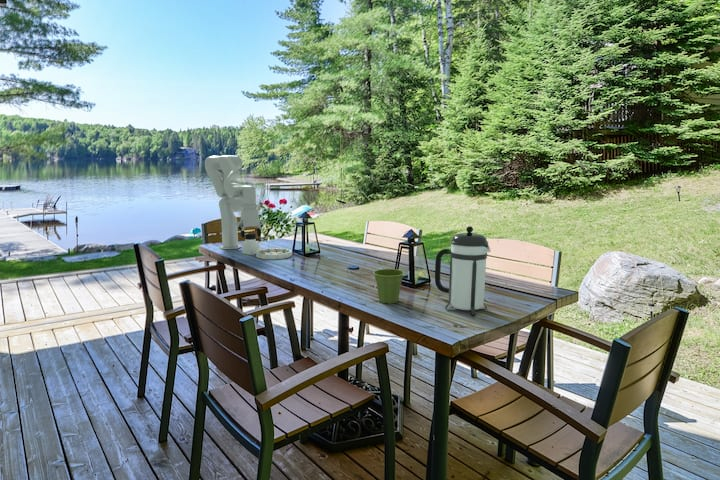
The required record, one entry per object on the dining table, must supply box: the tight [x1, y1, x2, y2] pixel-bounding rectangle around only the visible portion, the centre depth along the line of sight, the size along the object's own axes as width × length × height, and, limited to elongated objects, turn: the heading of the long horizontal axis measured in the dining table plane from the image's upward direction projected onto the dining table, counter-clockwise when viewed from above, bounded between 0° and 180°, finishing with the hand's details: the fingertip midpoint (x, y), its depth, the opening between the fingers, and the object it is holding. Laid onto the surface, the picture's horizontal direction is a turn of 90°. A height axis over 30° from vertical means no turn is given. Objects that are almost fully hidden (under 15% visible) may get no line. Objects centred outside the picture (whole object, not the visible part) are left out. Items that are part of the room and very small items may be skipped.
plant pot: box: [372, 268, 406, 304], centre depth 163 cm, size 12×12×11 cm
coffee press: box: [434, 225, 491, 317], centre depth 153 cm, size 17×16×30 cm
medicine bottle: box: [241, 232, 260, 256], centre depth 254 cm, size 7×7×12 cm
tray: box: [255, 247, 293, 260], centre depth 248 cm, size 20×20×3 cm
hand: (251, 236), depth 252 cm, fingers open, 9 cm apart
